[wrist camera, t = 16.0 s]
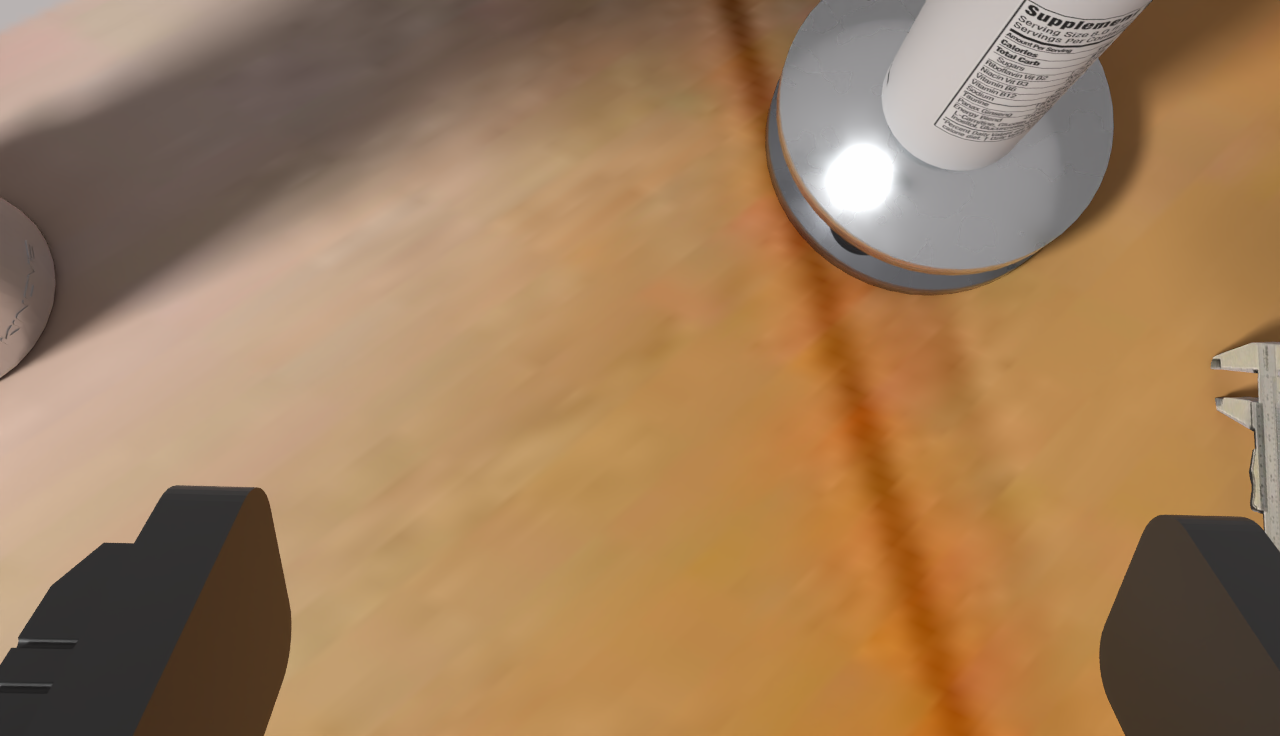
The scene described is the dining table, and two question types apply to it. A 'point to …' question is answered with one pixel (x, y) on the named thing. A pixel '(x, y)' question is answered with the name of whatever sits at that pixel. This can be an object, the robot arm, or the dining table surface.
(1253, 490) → the caliper
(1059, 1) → the energy drink can
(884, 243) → the stand
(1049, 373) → the dining table surface
